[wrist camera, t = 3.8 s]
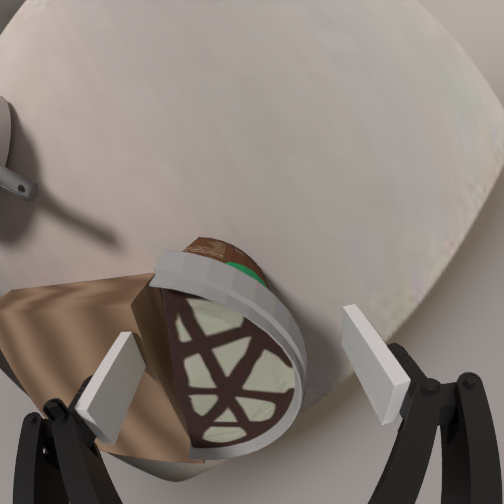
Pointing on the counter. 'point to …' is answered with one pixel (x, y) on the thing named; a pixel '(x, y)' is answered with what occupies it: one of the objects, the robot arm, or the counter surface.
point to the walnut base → (98, 355)
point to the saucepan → (3, 175)
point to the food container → (229, 350)
